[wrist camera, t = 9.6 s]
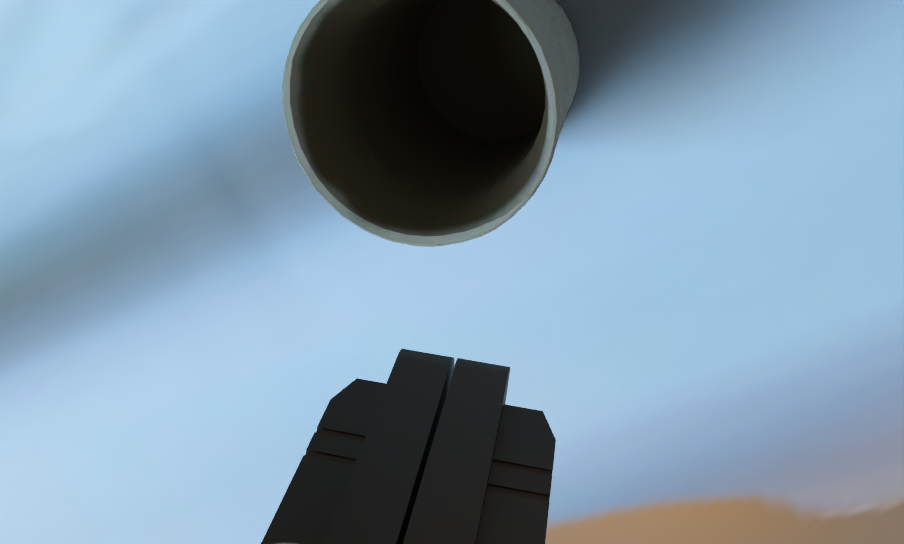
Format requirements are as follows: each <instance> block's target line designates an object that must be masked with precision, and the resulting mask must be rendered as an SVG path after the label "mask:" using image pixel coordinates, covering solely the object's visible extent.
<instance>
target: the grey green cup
mask: <svg viewBox="0 0 904 544" xmlns="http://www.w3.org/2000/svg"><path fill="white" fill-rule="evenodd" d="M579 64H580V58H579V51H578V44H577V40H576V37H575V34H574V31H573V28H572V25H571V23H570V21H569V19H568V17H567V15H566V14H565V12H564V10H563V9H562V8H561V6H560V5H559V4H558V3H557V1H556V0H320V1H319V2H318V3H317V4H316V6H315V7H314V8H313V9H312V10H311V12H310V13H309V14H308V16H307V17H306V19H305V20H304V21H303V23H302V24H301V25H300V27H299V29H298V31H297V33H296V35H295V37H294V39H293V41H292V45H291V48H290V51H289V54H288V57H287V61H286V65H285V71H284V77H283V111H284V118H285V124H286V128H287V132H288V135H289V138H290V142H291V145H292V148H293V151H294V153H295V156H296V158H297V161H298V163H299V164H300V166H301V168H302V169H303V171H304V172H305V174H306V176H307V177H308V179H309V181H310V182H311V184H312V185H313V187H314V188H315V189H316V191H317V192H318V193H319V194H320V195H321V196H322V198H323V199H324V200H325V201H326V202H327V203H328V204H329V205H330V206H331V207H333V208H334V209H335V210H336V211H337V212H338V213H339V214H340V215H341V216H343V217H344V218H346V219H347V220H349V221H350V222H352V223H353V224H355V225H356V226H358V227H360V228H361V229H363V230H365V231H367V232H369V233H371V234H373V235H376V236H378V237H381V238H383V239H386V240H389V241H393V242H398V243H403V244H408V245H413V246H443V245H449V244H455V243H460V242H464V241H468V240H471V239H475V238H478V237H480V236H483V235H485V234H487V233H489V232H491V231H493V230H495V229H496V228H498V227H499V226H501V225H502V224H503V223H505V222H506V221H507V220H509V219H510V218H511V217H512V216H514V215H515V214H516V213H517V212H518V211H519V210H520V209H521V208H522V207H523V206H524V205H525V204H526V203H527V201H528V200H529V199H530V198H531V197H532V196H533V194H534V193H535V192H536V190H537V188H538V187H539V185H540V184H541V182H542V180H543V179H544V177H545V175H546V173H547V170H548V168H549V166H550V163H551V161H552V158H553V154H554V151H555V147H556V144H557V141H558V137H559V134H560V132H561V129H562V127H563V123H564V122H565V119H566V116H567V113H568V110H569V108H570V106H571V104H572V101H573V99H574V96H575V92H576V89H577V85H578V79H579Z"/></svg>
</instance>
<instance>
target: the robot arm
mask: <svg viewBox="0 0 904 544" xmlns="http://www.w3.org/2000/svg"><path fill="white" fill-rule="evenodd" d="M509 373H510V367H506V366H500V365H494V364H488V363H482V362H477V361H471V360H465V359H459V358H458V359H457V361H456V364H455V367H454V358H452V357H446V356H440V355H435V354H429V353H423V352H417V351H411V350H406V349H401V350H400V352H399V354H398V357H397V359H396V362H395V364H394V367H393V369H392V372H391V374H390V377H389V379H388V382H387V384H384V383H379V382H373V381H367V380H362V379H356V380H355V381H353V382H352V383H351V384H350V385H348V386H347V387H346V388H345V389H343V390H342V391H341V392H340V393H338V394H337V395H336V396H335V397H333V398H332V399H331V400H330V402H329V404H328V406H327V408H326V410H325V412H324V414H323V416H322V419H321V421H320V423H319V425H318V427H317V432H316V433H314V435H313V437H312V439H311V441H310V443H309V446H308V448H307V450H306V455H305V456H303V458H302V460H301V462H300V464H299V466H298V468H297V470H296V473H295V475H294V477H293V479H292V481H291V483H290V485H289V487H288V489H287V491H286V493H285V495H284V497H283V500H282V502H281V504H280V506H279V508H278V510H277V512H276V514H275V516H274V518H273V520H272V522H271V524H270V526H269V529H268V531H267V533H266V535H265V537H264V539H263V541H262V543H261V544H545V538H546V528H547V518H548V509H549V497H550V489H551V480H552V470H553V461H554V451H555V441H556V440H555V438H554V435H553V433H552V431H551V429H550V427H549V424H548V422H547V420H546V418H545V416H544V413H543V411H538V410H532V409H527V408H521V407H515V406H510V405H505V400H506V394H507V387H508V380H509Z"/></svg>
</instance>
